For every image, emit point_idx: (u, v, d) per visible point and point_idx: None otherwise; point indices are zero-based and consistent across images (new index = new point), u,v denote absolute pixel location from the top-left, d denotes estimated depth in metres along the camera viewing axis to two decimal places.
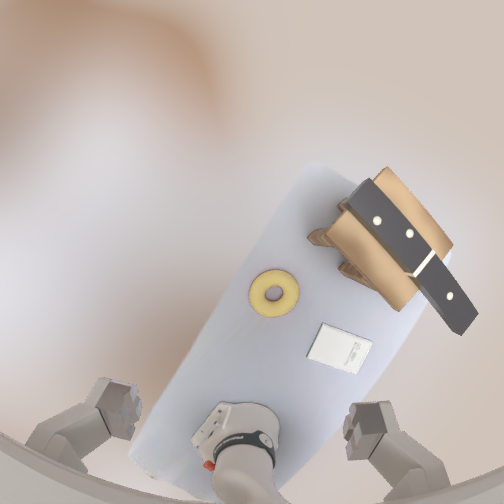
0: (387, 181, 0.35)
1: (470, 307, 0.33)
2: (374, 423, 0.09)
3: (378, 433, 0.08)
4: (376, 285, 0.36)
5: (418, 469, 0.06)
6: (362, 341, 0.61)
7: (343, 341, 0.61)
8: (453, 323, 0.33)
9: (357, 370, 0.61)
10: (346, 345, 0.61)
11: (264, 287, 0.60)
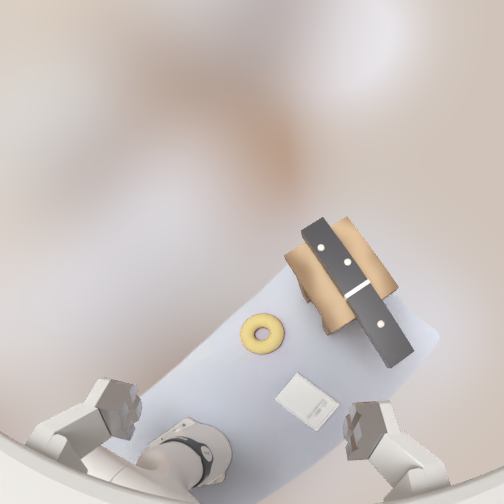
0: (344, 227, 0.48)
1: (404, 342, 0.37)
2: (374, 423, 0.09)
3: (378, 433, 0.08)
4: (316, 303, 0.44)
5: (418, 469, 0.06)
6: (329, 400, 0.60)
7: (311, 394, 0.62)
8: (382, 352, 0.37)
9: (318, 427, 0.59)
10: (313, 399, 0.61)
11: (254, 324, 0.69)
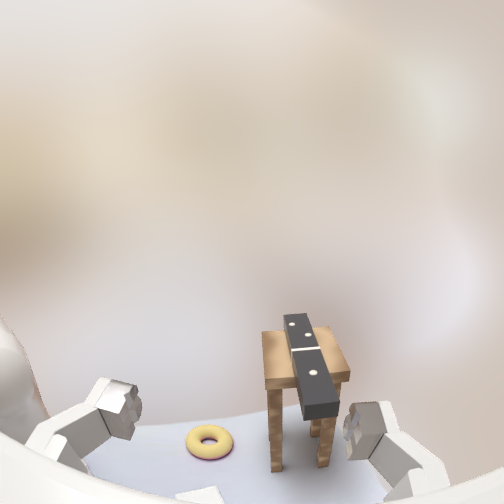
0: (322, 330, 0.52)
1: (331, 391, 0.32)
2: (374, 423, 0.09)
3: (378, 433, 0.08)
4: (264, 359, 0.44)
5: (418, 469, 0.06)
6: None
7: None
8: (302, 391, 0.33)
9: None
10: None
11: (208, 429, 0.57)
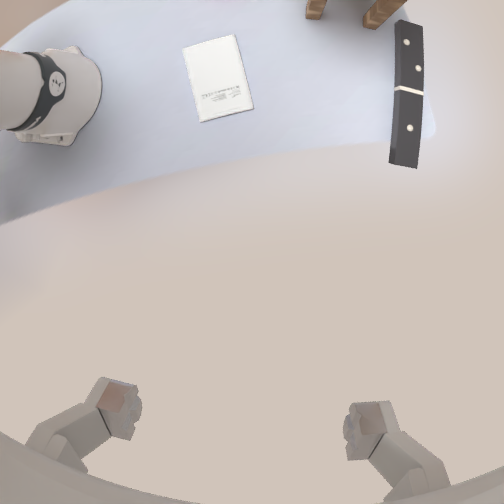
0: None
1: (415, 155, 0.40)
2: (374, 423, 0.09)
3: (378, 433, 0.08)
4: None
5: (418, 469, 0.06)
6: (245, 93, 0.40)
7: (229, 70, 0.39)
8: (397, 147, 0.40)
9: (205, 117, 0.42)
10: (227, 77, 0.40)
11: None
